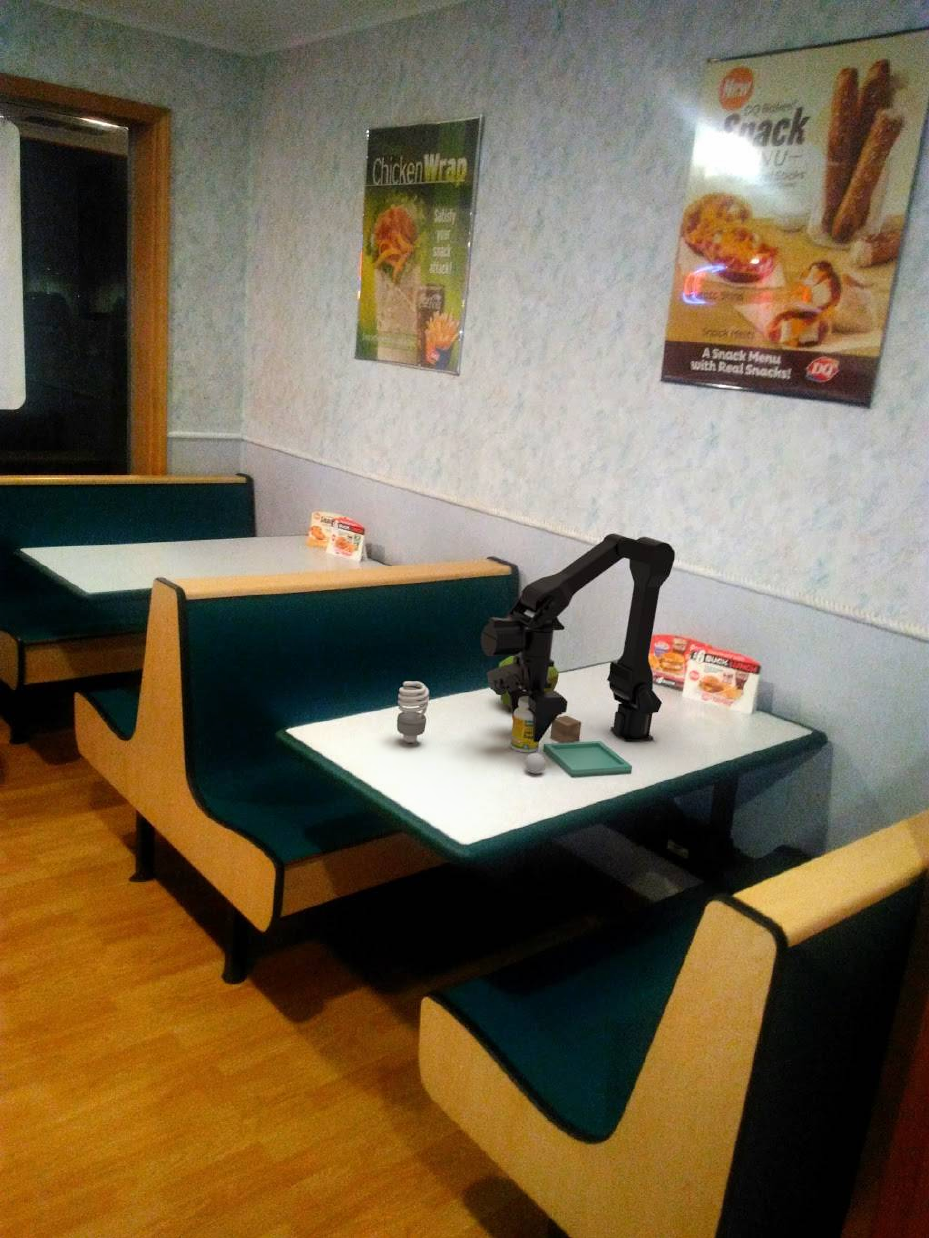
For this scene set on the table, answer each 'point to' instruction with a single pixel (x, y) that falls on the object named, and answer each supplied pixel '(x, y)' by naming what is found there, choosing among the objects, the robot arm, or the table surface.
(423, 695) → the light bulb
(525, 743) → the supplement bottle
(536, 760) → the grey ball
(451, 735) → the table surface
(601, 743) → the tray
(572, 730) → the walnut cube
